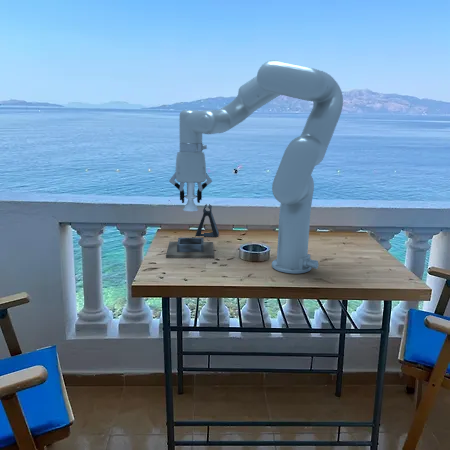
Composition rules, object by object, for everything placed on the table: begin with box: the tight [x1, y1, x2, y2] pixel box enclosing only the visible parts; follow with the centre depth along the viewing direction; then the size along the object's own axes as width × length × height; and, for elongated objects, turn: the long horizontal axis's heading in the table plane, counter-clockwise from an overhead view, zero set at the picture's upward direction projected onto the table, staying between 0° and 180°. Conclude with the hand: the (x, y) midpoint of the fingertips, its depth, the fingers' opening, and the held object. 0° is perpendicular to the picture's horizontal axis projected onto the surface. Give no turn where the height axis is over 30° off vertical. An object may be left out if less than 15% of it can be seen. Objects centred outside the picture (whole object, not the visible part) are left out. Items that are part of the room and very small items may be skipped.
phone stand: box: [194, 203, 220, 238], centre depth 180 cm, size 9×6×12 cm, turn 88°
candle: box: [182, 183, 199, 212], centre depth 156 cm, size 5×5×12 cm
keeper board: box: [165, 237, 215, 259], centre depth 160 cm, size 16×16×4 cm
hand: (190, 201), depth 156 cm, fingers closed on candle, 4 cm apart
